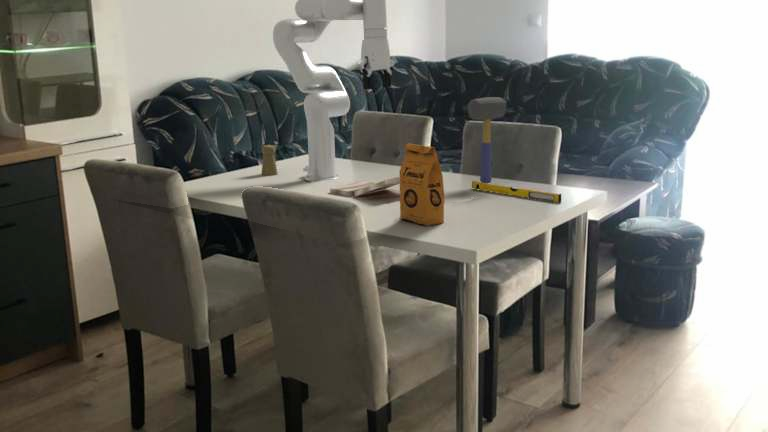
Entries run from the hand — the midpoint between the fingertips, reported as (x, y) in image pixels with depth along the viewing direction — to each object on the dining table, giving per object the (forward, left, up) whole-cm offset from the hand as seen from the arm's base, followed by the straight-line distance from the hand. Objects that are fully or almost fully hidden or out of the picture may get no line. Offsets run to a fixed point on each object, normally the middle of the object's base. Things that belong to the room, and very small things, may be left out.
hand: (377, 88), depth 270 cm
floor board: (+6, -9, -34) cm, 36 cm away
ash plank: (+11, -9, -30) cm, 33 cm away
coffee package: (+39, -26, -34) cm, 58 cm away
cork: (-52, -3, -34) cm, 63 cm away
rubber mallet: (+23, +30, -34) cm, 51 cm away
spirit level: (+41, +20, -35) cm, 57 cm away
